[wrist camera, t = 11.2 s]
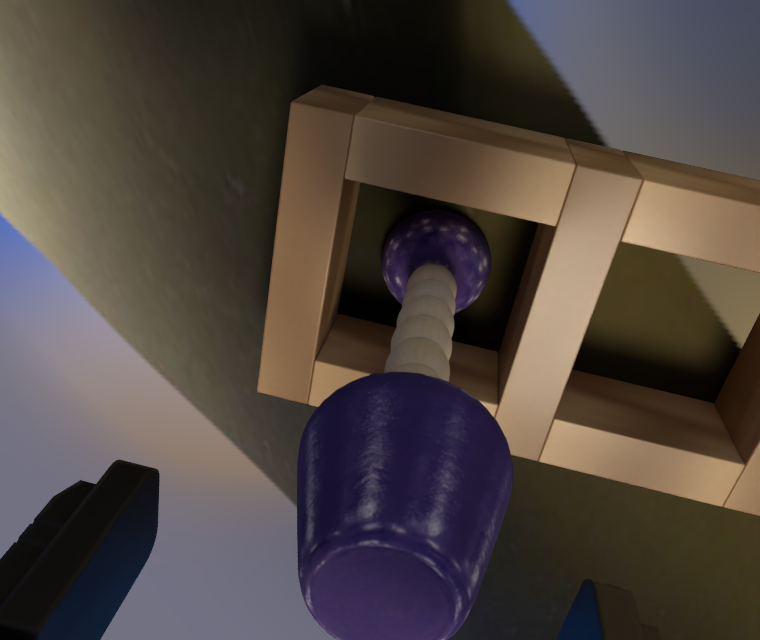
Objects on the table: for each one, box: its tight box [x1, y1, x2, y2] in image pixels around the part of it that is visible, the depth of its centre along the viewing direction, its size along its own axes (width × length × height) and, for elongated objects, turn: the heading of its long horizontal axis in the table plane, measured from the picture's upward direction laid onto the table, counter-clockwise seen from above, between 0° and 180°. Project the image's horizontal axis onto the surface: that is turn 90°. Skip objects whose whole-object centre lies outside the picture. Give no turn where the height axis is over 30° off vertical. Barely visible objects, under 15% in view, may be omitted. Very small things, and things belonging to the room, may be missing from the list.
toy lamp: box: [297, 210, 513, 640], centre depth 19 cm, size 5×5×17 cm
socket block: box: [257, 85, 760, 516], centre depth 24 cm, size 20×11×4 cm, turn 79°
